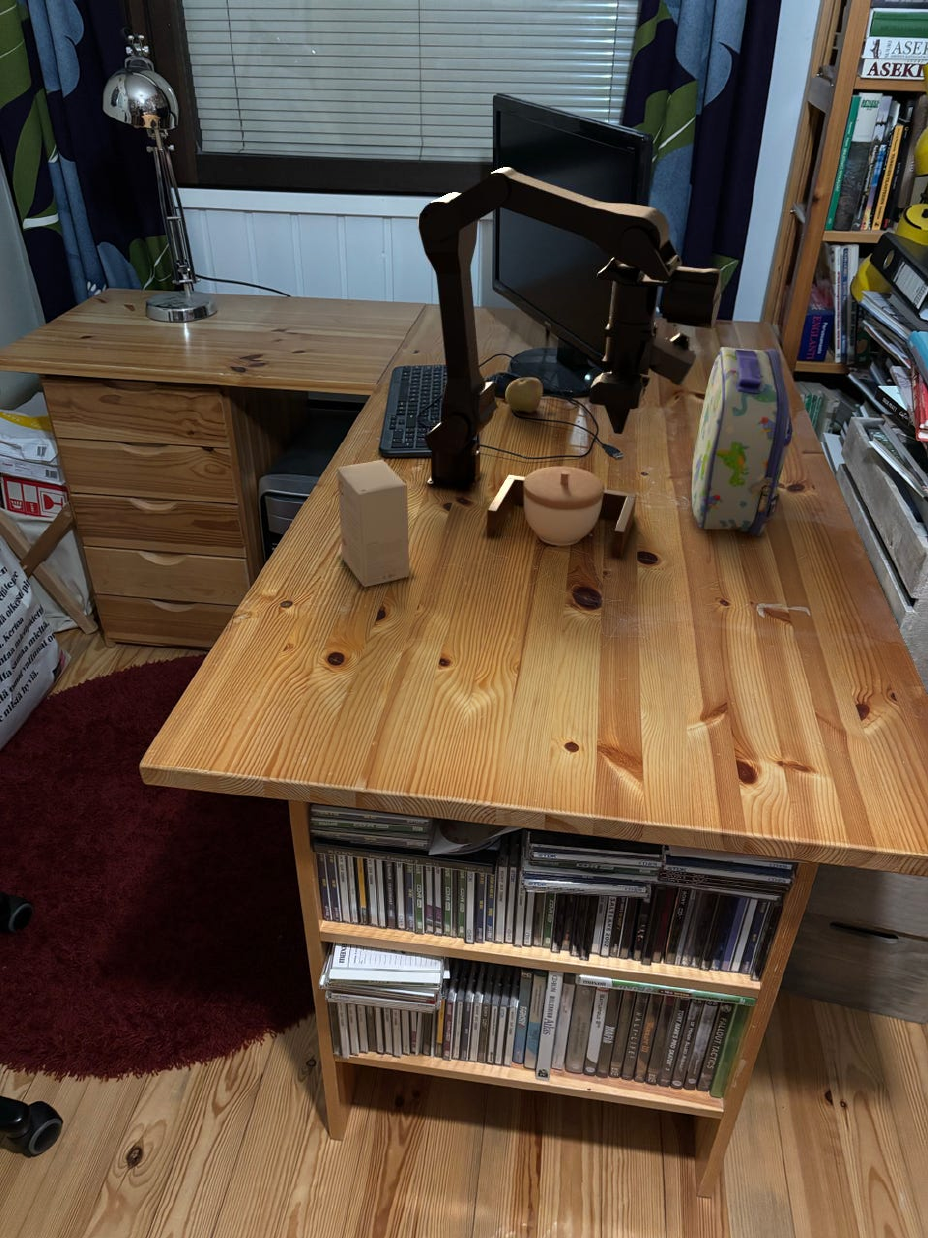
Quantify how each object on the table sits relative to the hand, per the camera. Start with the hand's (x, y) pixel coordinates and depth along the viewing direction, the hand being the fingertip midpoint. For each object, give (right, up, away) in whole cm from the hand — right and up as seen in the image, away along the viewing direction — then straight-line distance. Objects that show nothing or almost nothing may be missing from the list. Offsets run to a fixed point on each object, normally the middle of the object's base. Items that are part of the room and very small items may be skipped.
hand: (618, 432), depth 127 cm
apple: (-10, +11, +37) cm, 40 cm away
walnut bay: (-7, -13, +3) cm, 15 cm away
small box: (-32, -19, -7) cm, 38 cm away
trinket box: (-8, -14, +1) cm, 16 cm away
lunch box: (+17, -8, +10) cm, 22 cm away
